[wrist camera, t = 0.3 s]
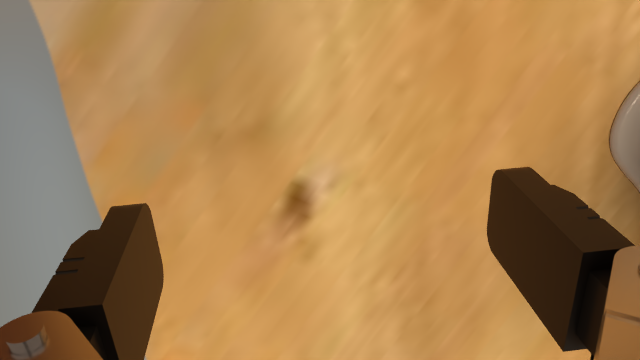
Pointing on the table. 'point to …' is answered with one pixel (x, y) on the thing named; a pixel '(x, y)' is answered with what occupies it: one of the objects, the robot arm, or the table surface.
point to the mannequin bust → (628, 137)
